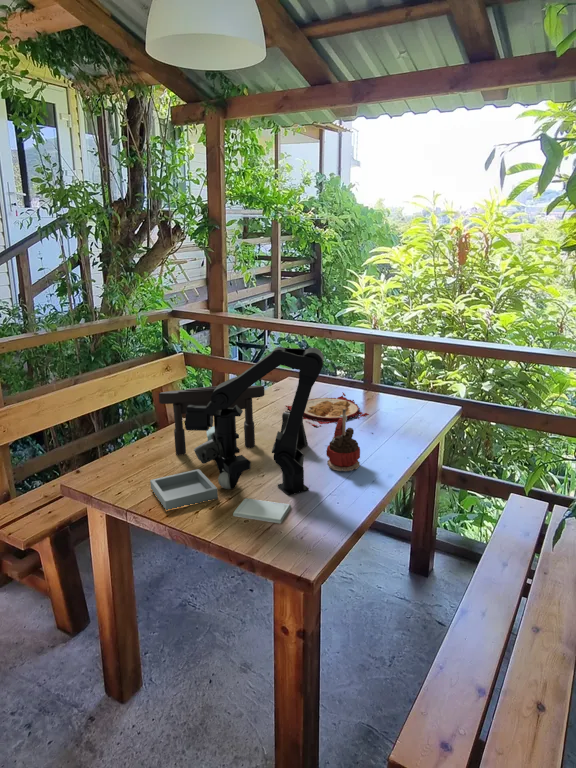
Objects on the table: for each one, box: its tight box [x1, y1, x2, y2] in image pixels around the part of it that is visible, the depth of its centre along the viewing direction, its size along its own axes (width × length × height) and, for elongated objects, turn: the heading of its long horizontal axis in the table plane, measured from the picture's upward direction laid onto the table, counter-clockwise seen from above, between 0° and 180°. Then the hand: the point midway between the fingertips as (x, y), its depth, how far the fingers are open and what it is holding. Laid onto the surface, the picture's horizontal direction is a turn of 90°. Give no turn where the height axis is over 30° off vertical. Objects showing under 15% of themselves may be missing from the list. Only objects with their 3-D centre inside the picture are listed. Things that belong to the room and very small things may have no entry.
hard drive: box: [232, 498, 292, 524], centre depth 138 cm, size 2×8×12 cm
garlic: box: [217, 469, 232, 490], centre depth 151 cm, size 6×5×5 cm
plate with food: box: [285, 392, 370, 427], centre depth 211 cm, size 25×26×4 cm
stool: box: [158, 385, 265, 456], centre depth 175 cm, size 16×21×33 cm
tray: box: [149, 468, 219, 510], centre depth 147 cm, size 14×14×3 cm
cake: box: [325, 409, 361, 472], centre depth 161 cm, size 11×9×18 cm
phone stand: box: [280, 410, 309, 451], centre depth 176 cm, size 9×6×12 cm, turn 147°
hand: (227, 483), depth 151 cm, fingers open, 6 cm apart
